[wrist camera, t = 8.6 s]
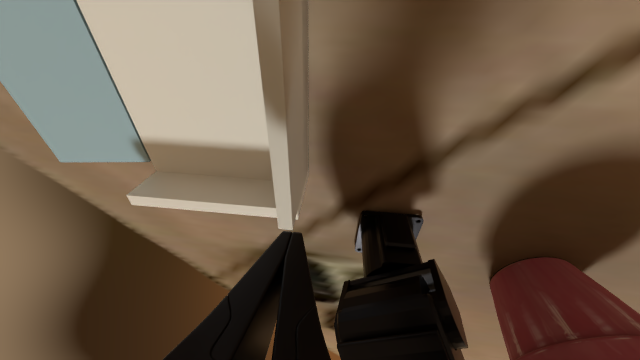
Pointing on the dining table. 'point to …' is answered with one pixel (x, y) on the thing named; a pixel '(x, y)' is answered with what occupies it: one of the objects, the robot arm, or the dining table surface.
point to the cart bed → (213, 99)
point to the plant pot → (561, 314)
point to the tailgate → (65, 83)
